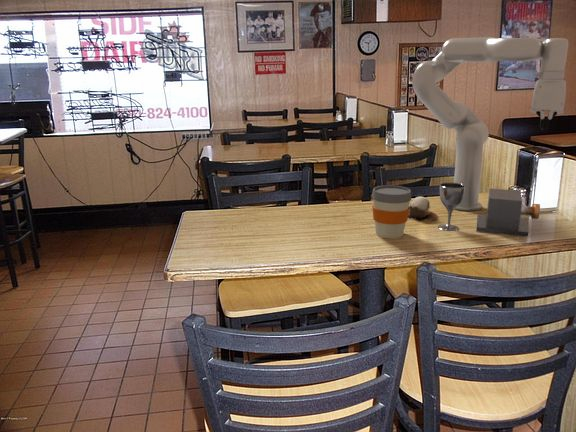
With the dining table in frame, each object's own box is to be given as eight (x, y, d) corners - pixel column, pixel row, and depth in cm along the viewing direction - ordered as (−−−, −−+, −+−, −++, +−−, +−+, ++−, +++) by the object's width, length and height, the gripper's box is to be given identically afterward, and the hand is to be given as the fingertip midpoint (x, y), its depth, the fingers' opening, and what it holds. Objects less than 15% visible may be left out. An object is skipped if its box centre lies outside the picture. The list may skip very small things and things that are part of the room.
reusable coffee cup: (363, 230, 182) (364, 187, 178) (394, 226, 187) (397, 183, 182) (383, 242, 171) (386, 196, 167) (416, 237, 176) (419, 192, 171)
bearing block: (476, 231, 181) (479, 198, 178) (477, 217, 195) (480, 187, 192) (528, 236, 176) (532, 202, 172) (525, 222, 190) (529, 190, 187)
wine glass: (462, 225, 187) (466, 183, 182) (458, 232, 180) (463, 189, 175) (438, 223, 190) (442, 181, 185) (434, 229, 183) (438, 186, 179)
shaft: (487, 216, 184) (488, 202, 182) (487, 212, 188) (488, 198, 187) (538, 220, 179) (540, 206, 177) (537, 216, 183) (539, 202, 182)
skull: (409, 206, 206) (428, 190, 200) (427, 228, 203) (446, 212, 197) (395, 213, 197) (414, 195, 191) (413, 235, 194) (433, 218, 188)
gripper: (528, 76, 183) (521, 131, 188) (577, 77, 178) (569, 133, 183) (526, 75, 189) (520, 128, 195) (574, 76, 185) (566, 130, 190)
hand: (544, 130), depth 189 cm, fingers closed
